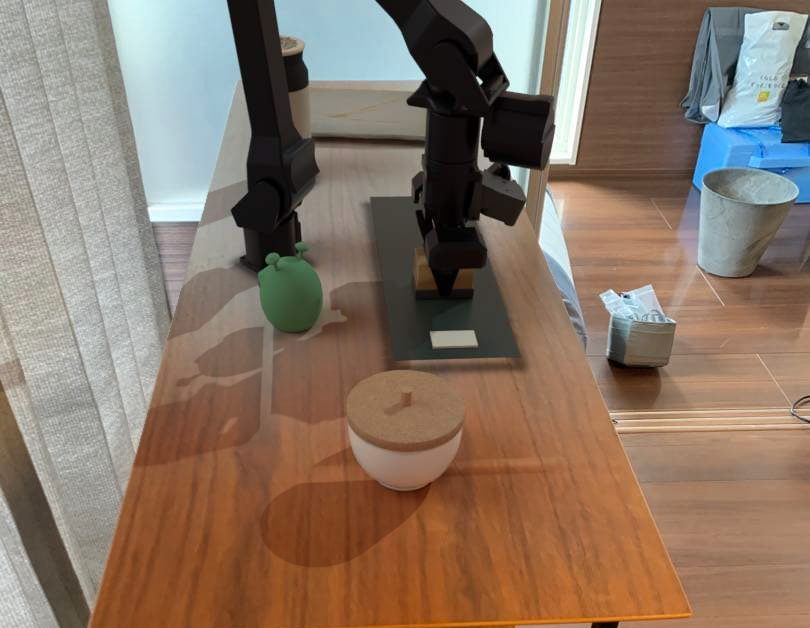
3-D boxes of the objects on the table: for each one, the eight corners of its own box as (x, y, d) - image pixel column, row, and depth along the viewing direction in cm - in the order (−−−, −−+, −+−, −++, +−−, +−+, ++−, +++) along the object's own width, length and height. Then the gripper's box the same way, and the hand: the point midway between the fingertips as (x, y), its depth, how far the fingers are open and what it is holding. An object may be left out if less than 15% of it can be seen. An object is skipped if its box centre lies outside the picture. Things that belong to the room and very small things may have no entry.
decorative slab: (267, 142, 131) (266, 129, 130) (282, 94, 146) (281, 82, 144) (438, 148, 132) (439, 135, 130) (436, 100, 146) (436, 88, 145)
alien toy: (292, 304, 99) (286, 223, 91) (337, 329, 95) (334, 247, 88) (246, 326, 95) (236, 244, 88) (291, 353, 92) (284, 270, 84)
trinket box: (373, 422, 84) (373, 343, 77) (474, 450, 81) (483, 370, 74) (328, 489, 77) (324, 408, 70) (437, 521, 74) (443, 441, 67)
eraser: (473, 297, 98) (476, 262, 95) (415, 299, 98) (416, 264, 94) (468, 280, 101) (471, 246, 98) (411, 282, 100) (412, 247, 97)
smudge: (477, 347, 91) (477, 345, 91) (433, 348, 91) (433, 346, 91) (473, 332, 93) (473, 330, 93) (429, 333, 93) (430, 331, 93)
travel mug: (316, 169, 125) (309, 35, 112) (310, 192, 119) (303, 54, 106) (263, 167, 125) (250, 32, 112) (255, 190, 119) (241, 51, 106)
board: (519, 365, 91) (521, 356, 90) (393, 369, 90) (393, 360, 89) (467, 203, 118) (467, 195, 118) (369, 204, 117) (369, 196, 116)
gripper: (544, 190, 82) (523, 327, 93) (509, 119, 95) (494, 247, 106) (433, 192, 81) (425, 330, 92) (413, 120, 94) (408, 249, 105)
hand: (442, 286), depth 99 cm, fingers closed on eraser, 4 cm apart
